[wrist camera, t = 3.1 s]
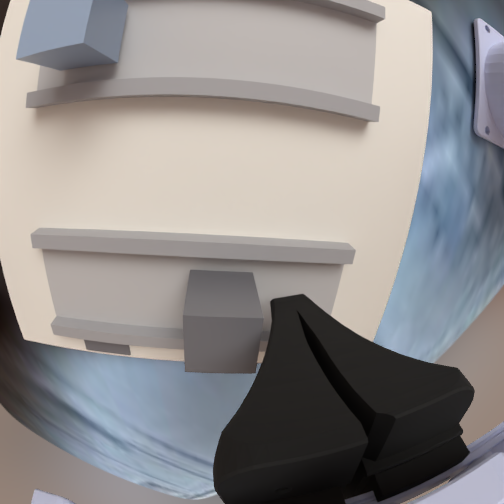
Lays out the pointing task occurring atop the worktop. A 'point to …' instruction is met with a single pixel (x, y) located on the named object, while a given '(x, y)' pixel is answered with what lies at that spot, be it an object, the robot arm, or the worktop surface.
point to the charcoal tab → (221, 322)
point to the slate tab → (72, 33)
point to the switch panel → (212, 166)
